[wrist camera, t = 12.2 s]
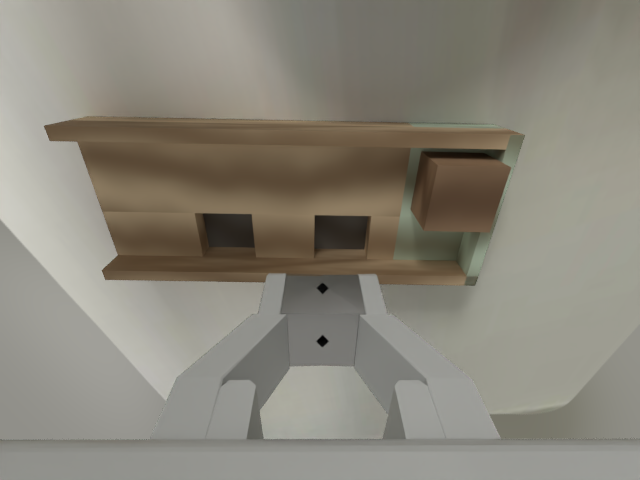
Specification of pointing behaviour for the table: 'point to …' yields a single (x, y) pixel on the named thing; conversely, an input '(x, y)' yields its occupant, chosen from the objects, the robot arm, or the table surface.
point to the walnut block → (458, 191)
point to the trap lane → (277, 197)
